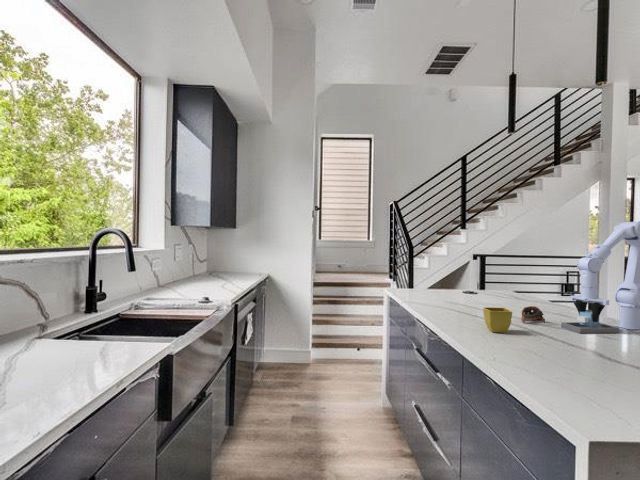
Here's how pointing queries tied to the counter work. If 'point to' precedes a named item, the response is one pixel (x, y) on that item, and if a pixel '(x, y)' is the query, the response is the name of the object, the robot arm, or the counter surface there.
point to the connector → (586, 319)
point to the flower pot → (497, 319)
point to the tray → (589, 328)
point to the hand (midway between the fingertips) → (588, 320)
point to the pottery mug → (532, 314)
